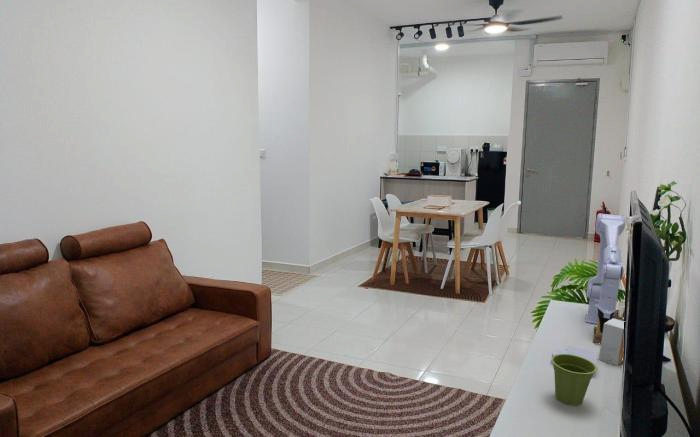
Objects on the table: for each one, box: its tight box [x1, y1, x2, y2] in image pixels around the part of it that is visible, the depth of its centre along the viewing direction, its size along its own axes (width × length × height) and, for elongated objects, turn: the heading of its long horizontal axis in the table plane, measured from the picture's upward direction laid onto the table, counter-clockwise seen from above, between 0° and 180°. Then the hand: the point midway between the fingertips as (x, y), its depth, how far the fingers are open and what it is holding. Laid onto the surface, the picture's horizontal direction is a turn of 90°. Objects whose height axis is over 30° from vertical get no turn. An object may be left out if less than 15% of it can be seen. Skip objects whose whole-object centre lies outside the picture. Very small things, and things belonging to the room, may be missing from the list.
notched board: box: [592, 326, 602, 345], centre depth 192 cm, size 11×8×2 cm
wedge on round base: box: [550, 345, 598, 366], centre depth 169 cm, size 9×7×13 cm
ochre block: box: [596, 317, 603, 335], centre depth 192 cm, size 4×4×7 cm
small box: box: [598, 318, 625, 366], centre depth 175 cm, size 8×6×13 cm
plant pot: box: [551, 354, 598, 407], centre depth 147 cm, size 12×12×11 cm
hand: (603, 330), depth 192 cm, fingers closed on ochre block, 4 cm apart
